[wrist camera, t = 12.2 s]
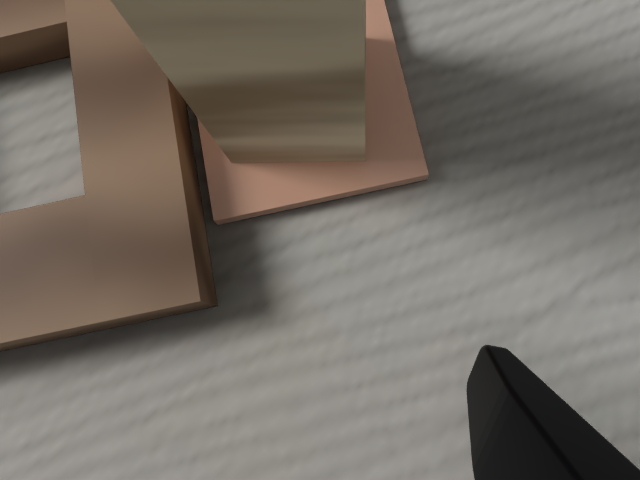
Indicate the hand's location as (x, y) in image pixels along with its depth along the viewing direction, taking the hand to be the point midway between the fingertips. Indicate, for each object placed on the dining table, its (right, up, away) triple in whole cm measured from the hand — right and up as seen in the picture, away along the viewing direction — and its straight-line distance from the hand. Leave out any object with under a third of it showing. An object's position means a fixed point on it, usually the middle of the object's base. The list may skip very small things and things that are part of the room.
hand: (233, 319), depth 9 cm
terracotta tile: (+1, +7, +11) cm, 13 cm away
